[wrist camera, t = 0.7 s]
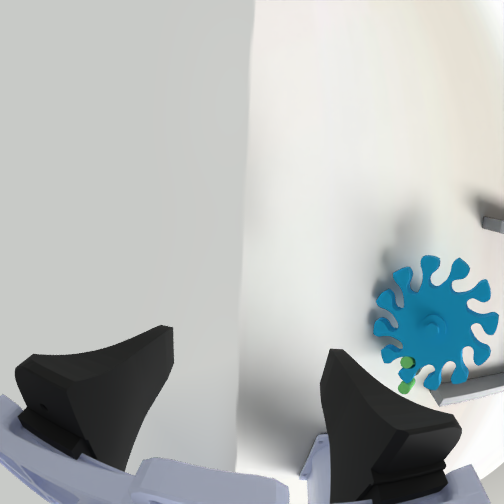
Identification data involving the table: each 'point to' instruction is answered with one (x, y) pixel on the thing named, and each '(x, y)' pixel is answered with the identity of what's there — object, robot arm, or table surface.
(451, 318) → the gear
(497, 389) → the grey open frame
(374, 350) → the table surface
